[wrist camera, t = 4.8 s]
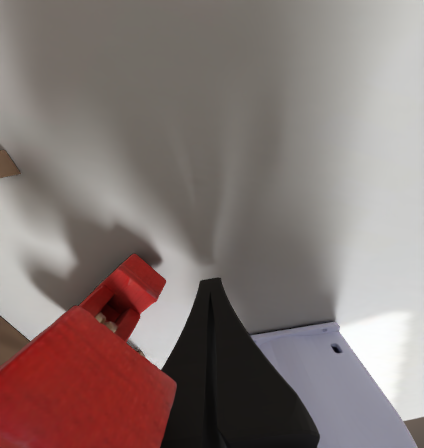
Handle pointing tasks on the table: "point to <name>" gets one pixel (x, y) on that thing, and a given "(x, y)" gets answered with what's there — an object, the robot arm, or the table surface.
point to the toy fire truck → (89, 374)
